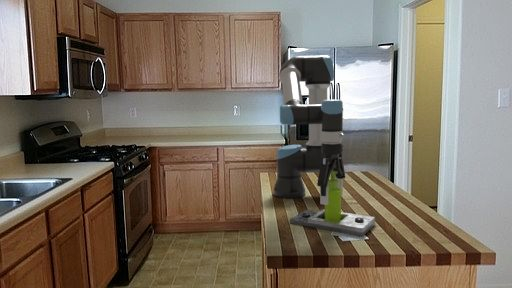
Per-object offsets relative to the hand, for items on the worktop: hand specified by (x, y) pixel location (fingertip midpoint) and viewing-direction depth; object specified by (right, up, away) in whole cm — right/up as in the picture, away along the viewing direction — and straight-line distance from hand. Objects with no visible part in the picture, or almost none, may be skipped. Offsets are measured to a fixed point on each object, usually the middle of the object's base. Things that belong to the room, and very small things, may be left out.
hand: (331, 199), depth 149 cm
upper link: (+3, -9, -1) cm, 10 cm away
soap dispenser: (0, -9, +1) cm, 9 cm away
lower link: (-3, -9, +3) cm, 10 cm away
